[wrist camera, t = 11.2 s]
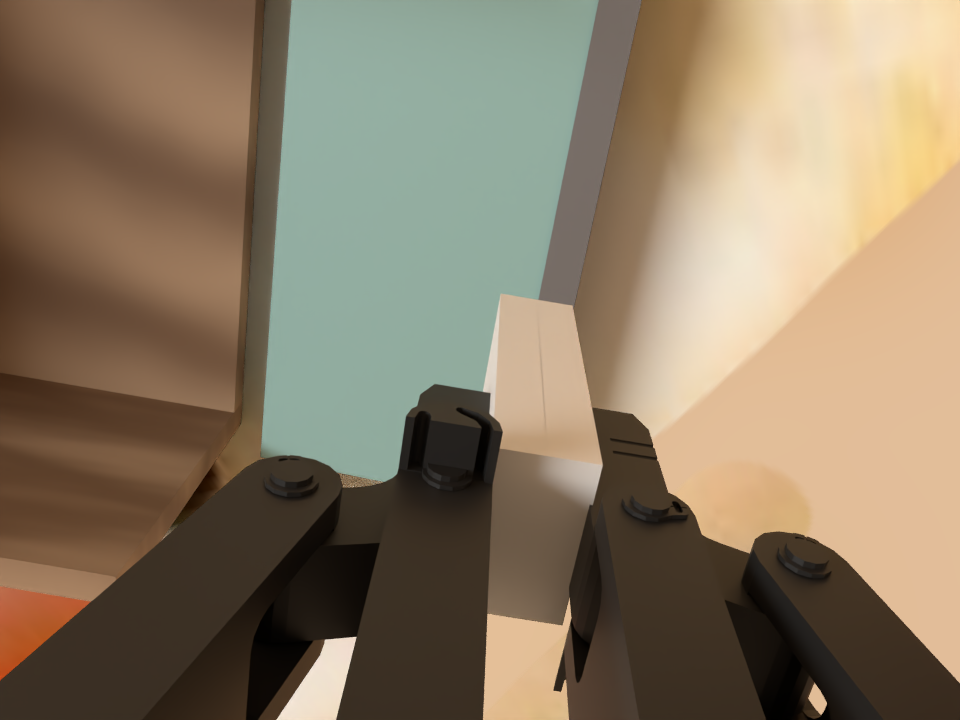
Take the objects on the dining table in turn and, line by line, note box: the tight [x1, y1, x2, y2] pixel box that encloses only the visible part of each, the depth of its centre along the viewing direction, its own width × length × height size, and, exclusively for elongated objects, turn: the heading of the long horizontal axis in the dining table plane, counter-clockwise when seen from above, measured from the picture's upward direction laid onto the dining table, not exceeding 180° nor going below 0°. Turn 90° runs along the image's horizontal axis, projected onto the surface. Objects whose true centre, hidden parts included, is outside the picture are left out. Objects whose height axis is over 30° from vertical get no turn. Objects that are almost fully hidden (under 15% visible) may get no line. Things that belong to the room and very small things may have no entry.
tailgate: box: [261, 0, 642, 482], centre depth 28 cm, size 21×1×10 cm
